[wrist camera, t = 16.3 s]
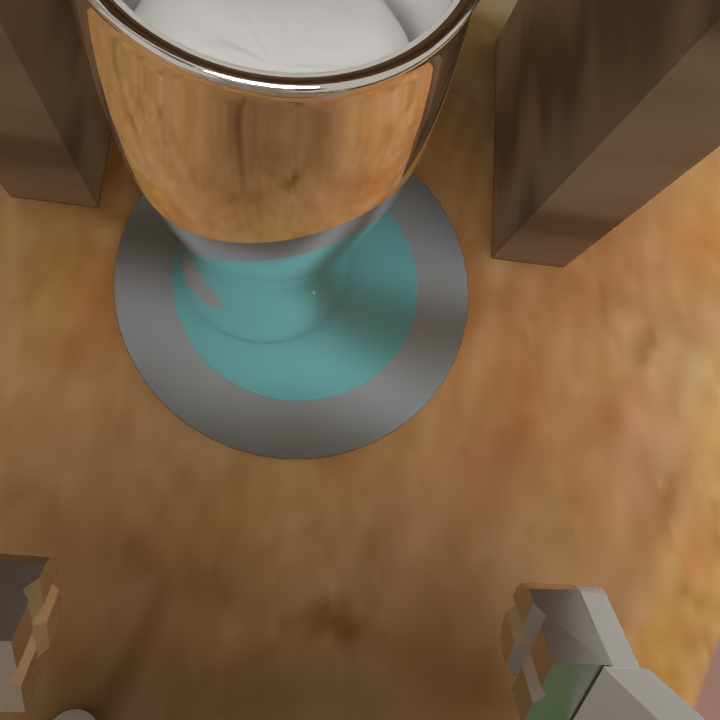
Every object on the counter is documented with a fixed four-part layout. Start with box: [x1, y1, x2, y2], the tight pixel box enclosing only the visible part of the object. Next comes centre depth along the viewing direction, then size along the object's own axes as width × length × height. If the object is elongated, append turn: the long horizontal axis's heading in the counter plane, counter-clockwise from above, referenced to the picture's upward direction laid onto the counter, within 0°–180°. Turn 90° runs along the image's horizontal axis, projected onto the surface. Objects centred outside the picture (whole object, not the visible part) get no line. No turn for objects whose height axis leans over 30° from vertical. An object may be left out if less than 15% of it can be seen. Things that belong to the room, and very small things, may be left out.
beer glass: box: [70, 0, 479, 342], centre depth 17 cm, size 7×7×15 cm
